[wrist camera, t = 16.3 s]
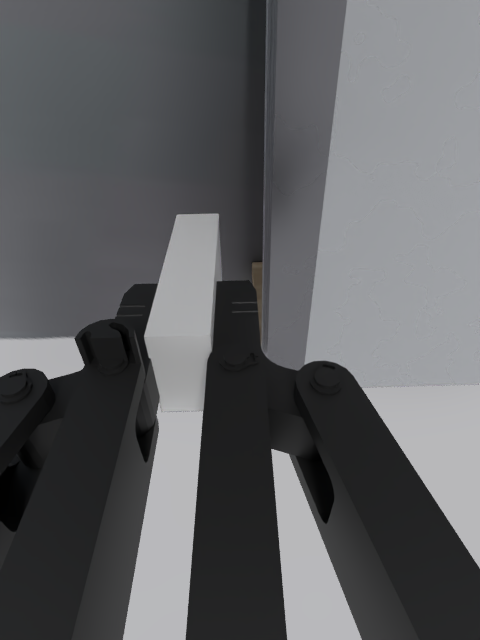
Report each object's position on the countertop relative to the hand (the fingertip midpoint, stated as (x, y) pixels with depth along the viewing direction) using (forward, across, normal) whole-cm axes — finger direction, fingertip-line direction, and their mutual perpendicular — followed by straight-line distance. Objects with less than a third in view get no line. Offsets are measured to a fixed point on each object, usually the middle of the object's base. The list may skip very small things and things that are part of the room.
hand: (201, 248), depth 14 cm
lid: (+3, +9, 0) cm, 9 cm away
